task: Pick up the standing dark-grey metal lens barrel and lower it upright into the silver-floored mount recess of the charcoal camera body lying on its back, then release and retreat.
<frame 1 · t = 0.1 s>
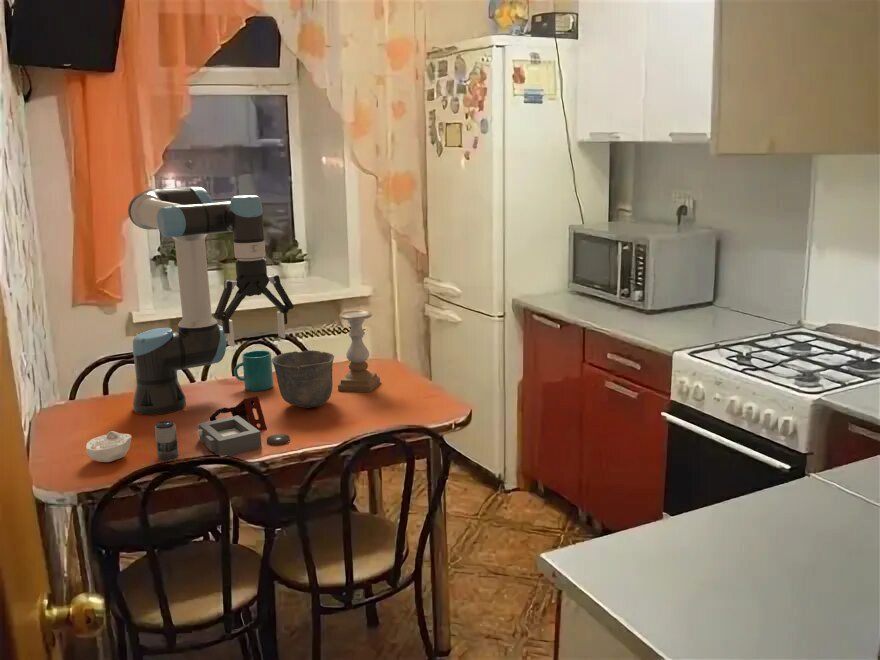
hand: (257, 341, 212), 28 cm above the table, fingers open, 13 cm apart
candle holder: (359, 387, 267), on the table
lens cap: (278, 440, 221), on the table
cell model: (110, 460, 212), on the table
bracket: (237, 426, 234), on the table
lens: (168, 456, 212), on the table
bowl: (305, 406, 249), on the table
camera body: (230, 443, 220), on the table
cup: (254, 388, 268), on the table
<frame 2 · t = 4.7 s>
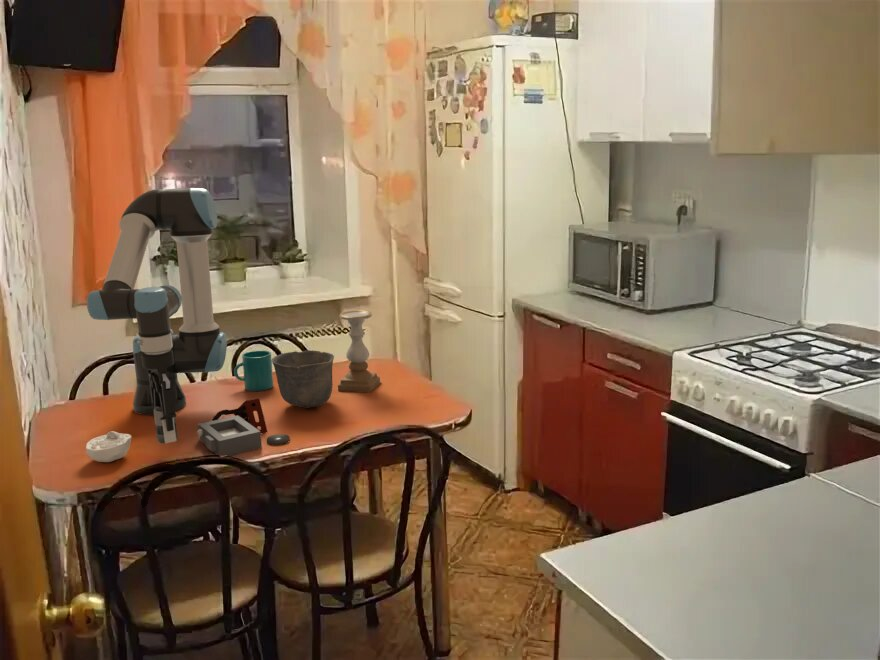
hand: (167, 438, 212), 5 cm above the table, fingers closed on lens, 5 cm apart
bracket: (239, 428, 233), on the table
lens: (167, 439, 212), point 4 cm above the table, touching gripper
everything else where it was.
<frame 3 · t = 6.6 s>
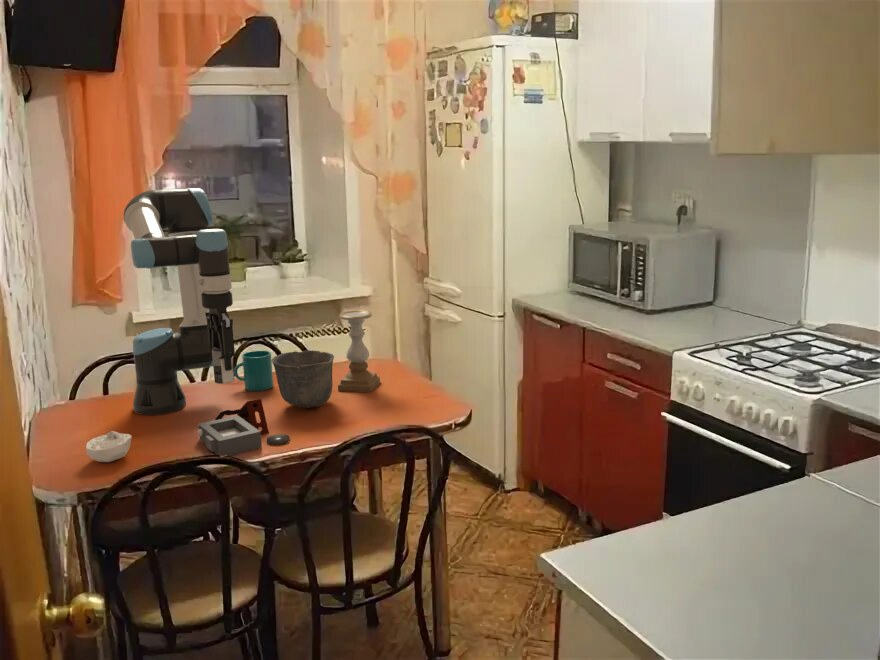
hand: (224, 379, 216), 18 cm above the table, fingers closed on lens, 5 cm apart
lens: (224, 380, 216), point 17 cm above the table, touching gripper
when the fingers open (4 cm above the table, at t = 8.7 s): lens drops 2 cm, resting on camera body.
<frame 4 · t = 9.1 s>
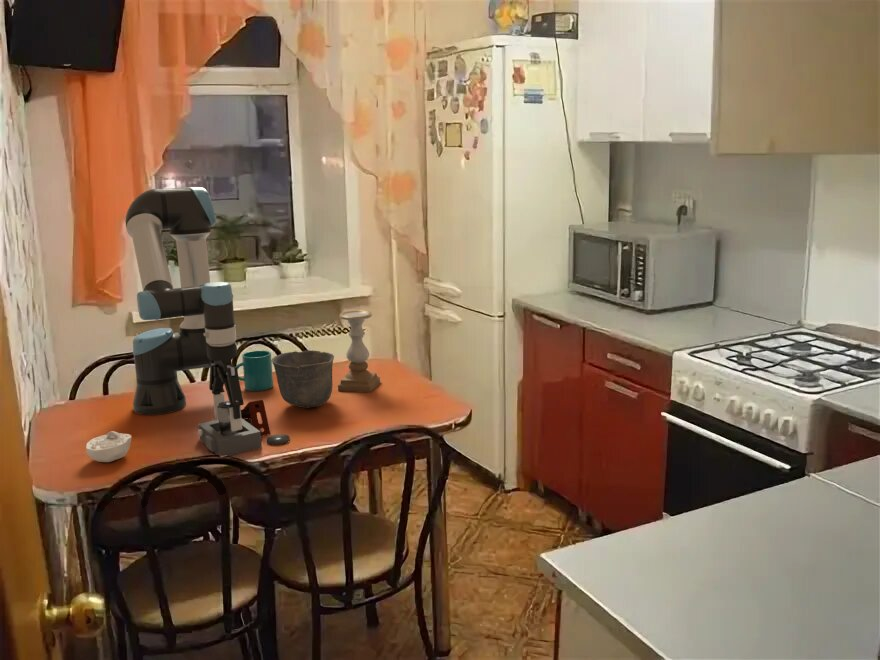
hand: (228, 423, 219), 6 cm above the table, fingers open, 11 cm apart
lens: (229, 436, 219), point 2 cm above the table, touching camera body
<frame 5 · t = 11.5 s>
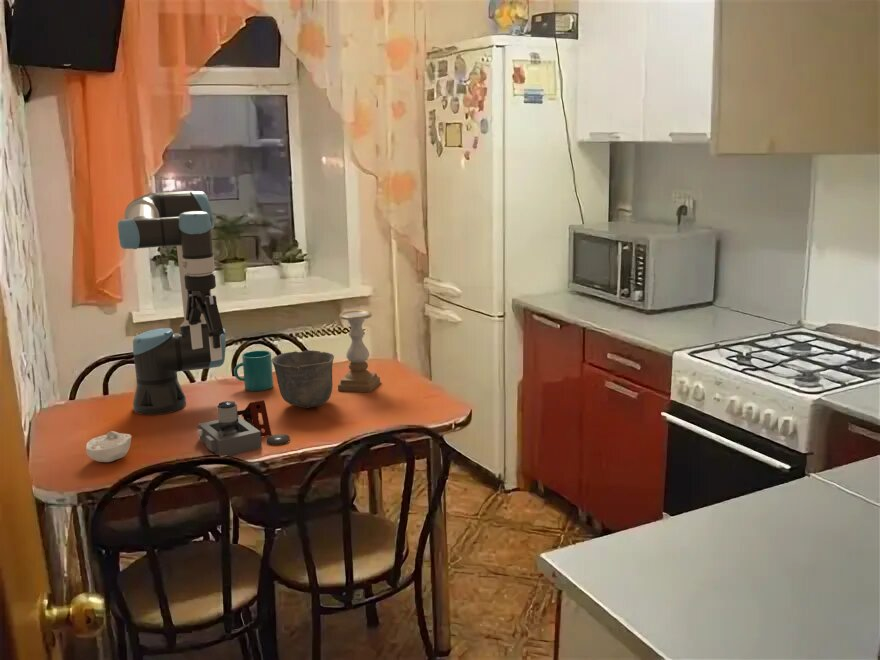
hand: (206, 354, 216), 24 cm above the table, fingers open, 13 cm apart
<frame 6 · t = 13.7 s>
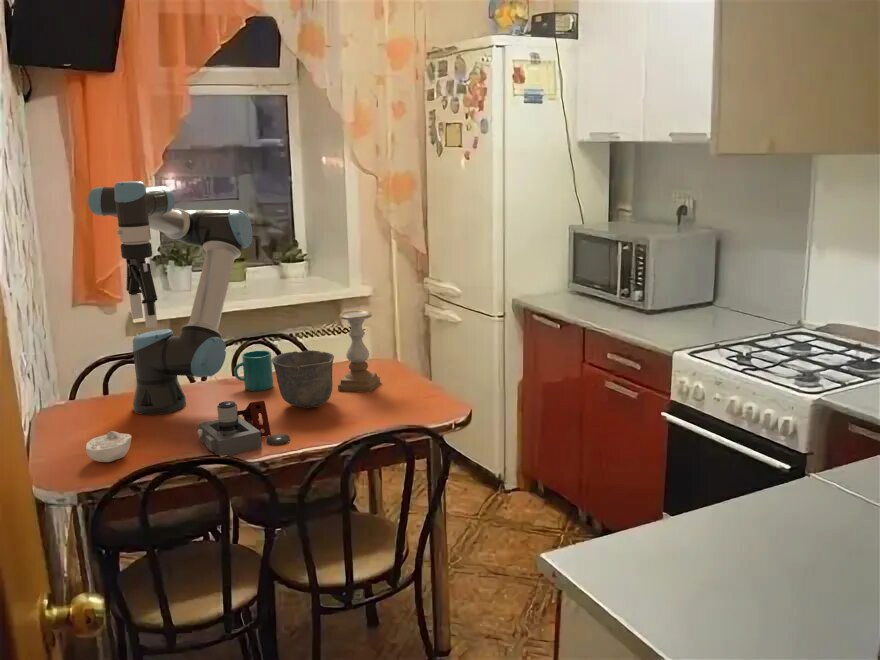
hand: (144, 322, 219), 32 cm above the table, fingers open, 13 cm apart
at the end: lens 0.1 cm off-centre on the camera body, point 2.1 cm above the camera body's base; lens tilted 0°; the gripper is holding nothing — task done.
